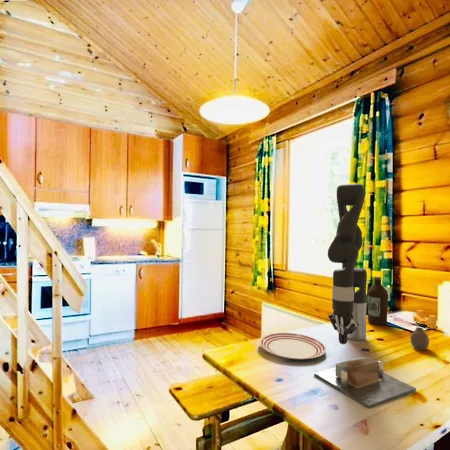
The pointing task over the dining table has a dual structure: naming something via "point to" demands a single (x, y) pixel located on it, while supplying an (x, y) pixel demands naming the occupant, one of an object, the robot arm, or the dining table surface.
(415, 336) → the vase
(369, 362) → the block
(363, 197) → the robot arm
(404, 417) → the dining table surface
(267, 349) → the dinner plate
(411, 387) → the housing base
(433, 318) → the pipe clamp
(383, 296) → the olive oil
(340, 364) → the bar
